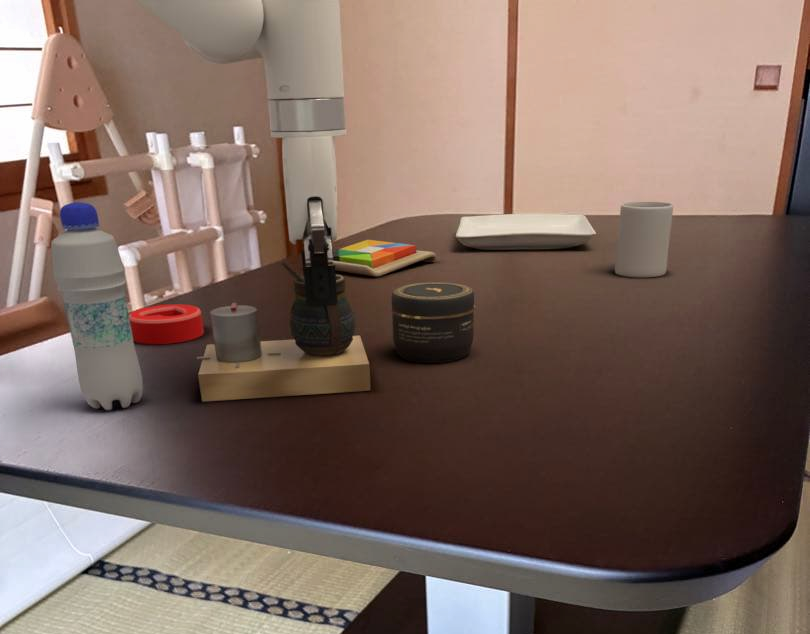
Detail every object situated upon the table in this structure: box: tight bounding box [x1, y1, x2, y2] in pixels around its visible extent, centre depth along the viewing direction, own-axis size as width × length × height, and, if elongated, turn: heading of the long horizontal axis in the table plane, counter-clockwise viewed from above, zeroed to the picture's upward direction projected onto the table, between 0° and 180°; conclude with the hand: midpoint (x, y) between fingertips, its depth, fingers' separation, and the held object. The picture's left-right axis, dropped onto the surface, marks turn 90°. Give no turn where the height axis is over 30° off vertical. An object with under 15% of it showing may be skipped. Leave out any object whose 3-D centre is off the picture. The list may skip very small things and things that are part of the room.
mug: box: [614, 201, 674, 279], centre depth 142 cm, size 12×8×11 cm
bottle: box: [50, 201, 144, 411], centre depth 84 cm, size 7×7×20 cm
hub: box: [209, 302, 262, 362], centre depth 92 cm, size 5×5×5 cm
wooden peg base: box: [196, 335, 371, 403], centre depth 94 cm, size 19×12×3 cm, turn 97°
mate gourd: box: [280, 262, 356, 356], centre depth 91 cm, size 7×8×10 cm
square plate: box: [455, 213, 597, 251], centre depth 175 cm, size 27×27×4 cm
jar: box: [390, 281, 476, 364], centre depth 101 cm, size 10×10×8 cm
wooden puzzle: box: [332, 239, 437, 278], centre depth 155 cm, size 18×19×4 cm
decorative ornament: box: [129, 303, 205, 345], centre depth 114 cm, size 10×10×3 cm
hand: (320, 295), depth 91 cm, fingers open, 9 cm apart
